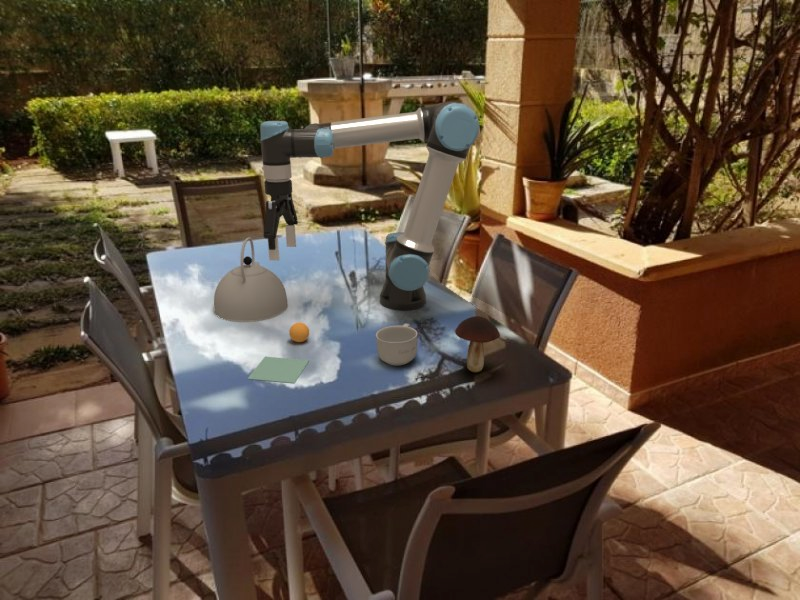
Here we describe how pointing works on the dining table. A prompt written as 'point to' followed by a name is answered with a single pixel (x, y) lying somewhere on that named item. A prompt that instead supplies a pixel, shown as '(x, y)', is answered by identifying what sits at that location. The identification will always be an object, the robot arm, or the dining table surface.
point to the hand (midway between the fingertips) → (283, 253)
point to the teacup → (397, 344)
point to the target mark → (278, 369)
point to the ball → (299, 332)
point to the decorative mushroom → (476, 339)
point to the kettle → (249, 292)
